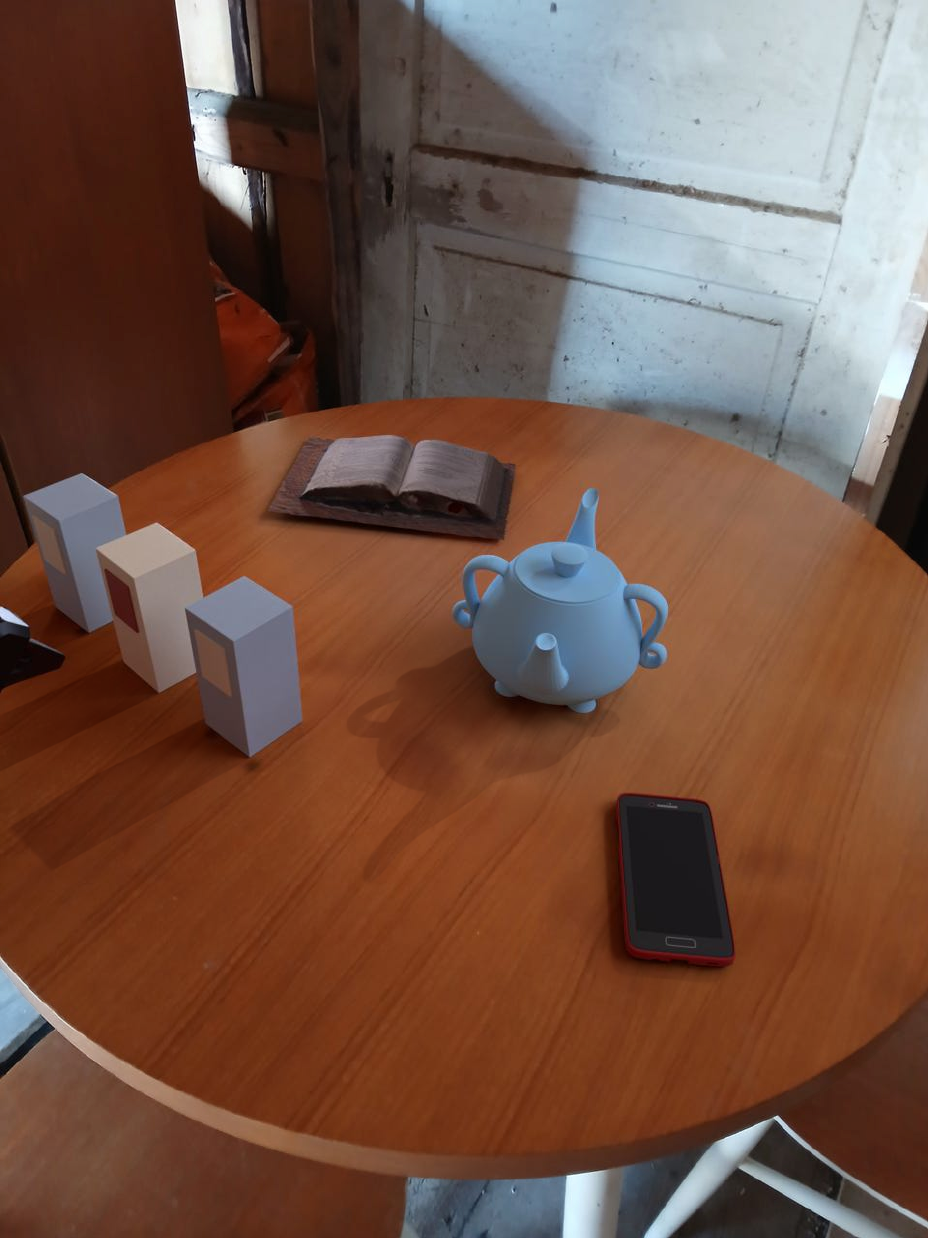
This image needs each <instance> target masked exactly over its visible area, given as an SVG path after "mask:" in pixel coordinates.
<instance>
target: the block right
mask: <svg viewBox="0 0 928 1238" xmlns="http://www.w3.org/2000/svg"><path fill="white" fill-rule="evenodd" d="M185 613H186V618H187V624H188V629H189V635H190V640H191V646H192V651H193V657H194V662H195V668H196V673H195V674H196V678H197V683H198V688H199V694H200V700H201V705H202V711H203V718H204V722H205V723H204V724H205V725H206V726H208V727H209V728H211V729H212V730H213V731H215V732H216V733H217V734H219V735H220V736H221V737H222V738H224V739H225V740H226V741H227V742H228V743H230V744H231V745H233V746H234V747H235V748H236V749H238V750H239V751H240V752H241V753H242V754H244V755H246V756H247V757H248V758H252V757H253V756H255V755H256V754H257V753H259V752H260V751H262V750H263V749H264V748H266V747H267V746H269V745H270V744H271V743H273V742H275V741H276V740H278V739H279V738H280V737H282V736H283V735H285V734H286V733H287V732H289V731H290V730H292V729H294V728H295V727H296V726H298V725H299V724H300V723H302V722H303V711H302V699H301V687H300V678H299V677H300V676H299V665H298V654H297V653H298V651H297V642H296V631H295V630H296V629H295V619H294V608H293V605H291V604H289V603H288V602H286V601H285V600H283V599H281V598H280V597H279V596H277V595H275V594H274V593H273V592H271V591H269V590H267V589H265V588H264V587H263V586H261V585H260V584H258V583H256V582H255V581H253V580H252V579H250V578H248V576H247V577H246V575H243V576H241V577H239V578H238V579H236V580H234V581H232V582H230V583H229V584H227V585H224V586H223V587H221V588H219V589H217V590H215V591H214V592H211V593H210V594H208V595H206V596H203V598H202V599H200V600H198V601H197V602H195V603H193V604H191V605H189V606H187V607H185Z"/></svg>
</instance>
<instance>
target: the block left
mask: <svg viewBox="0 0 928 1238" xmlns="http://www.w3.org/2000/svg"><path fill="white" fill-rule="evenodd" d="M22 497H23V502H24V503H25V507H26V511H27V515H28V518H29V521H30V525H31V528H32V531H33V535H34V539H35V541H36V545H37V548H38V551H39V552H38V553H39V555H40V558H41V562H42V565H43V568H44V572H45V576H46V578H47V583H48V585H49V589H50V593H51V597H52V599H53V602H54V606H55V608H56V609H58V610H59V612H62V613H63V614H64V615H65V616H66V617H68V618H69V619H70V620H72V621H73V622H74V623H76V624H77V625H78V626H79V627H81V628H82V629H83V630H85V632H87V633H89V634H90V633H93V632H94V631H96V630H98V629H100V628H103V627H104V626H105V625H106V626H107V625H108V624H110V623H111V622H113V618H112V614H111V610H110V606H109V602H108V598H107V593H106V589H105V585H104V581H103V577H102V573H101V569H100V565H99V561H98V557H97V553H96V549H95V548H97V547H99V546H102V545H104V544H107V543H109V542H111V541H114V540H116V539H118V538H121V537H123V536H126V535H127V532H126V527H125V523H124V517H123V513H122V508H121V504H120V499H119V496H118V495H117V494H116V493H114V492H112V491H110V490H109V489H107V488H106V487H104V486H103V485H102V484H100V483H99V482H97V481H95V480H93V479H92V478H90V477H89V476H87V475H86V474H84V473H81V472H80V473H79V474H76V475H73V476H71V477H68V478H65V479H63V480H60V481H58V482H55V483H53V484H50V485H48V486H45V487H43V488H40V489H37V490H35V491H33V492H30V493H27V494H25V495H23V496H22Z"/></svg>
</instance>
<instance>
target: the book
mask: <svg viewBox="0 0 928 1238" xmlns="http://www.w3.org/2000/svg"><path fill="white" fill-rule="evenodd" d="M516 466H517V464H516V463H512V462H506V463H505V462H500V461H499V460H498V459H497V458H496V457H495V456H494V455H492V454H490V453H489V452H486V451H482V450H481V451H480V450H477V449H474V448H470V447H467V446H462V445H459V444H455V443H451V442H448V441H443V440H439V439H422V440H420V441H419V442H418V443H417V444H416V445H414V443H412V442H410V441H409V440H408V439H407V438H405V437H401V436H397V435H393V434H385V435H384V434H383V435H373V436H364V437H349V438H347V437H340V438H337V439H331V438H325V439H324V438H320V437H318V438H316V437H311V436H309V437H307V439H306V441H305V443H304V445H303V446H302V448H301V450H300V451H299V453H298V455H297V457H296V459H295V460H294V462H293V464H292V466H291V467H290V470H289V471H288V472H287V475H286V476H285V478H284V480H283V481H282V483H281V486H280V487H279V489H278V490H277V491H276V494H275V496H274V497H275V498H273V499H272V501H271V502H270V504H269V506H268V509H267V511H268V512H273V513H279V514H290V515H293V516H305V517H315V518H321V519H333V520H338V521H344V522H353V523H362V524H367V525H375V526H386V527H390V528H399V529H407V530H409V529H410V530H416V531H421V532H433V533H442V534H453V535H457V536H462V537H470V538H473V537H474V538H475V537H478V538H479V537H480V538H482V539H489V540H490V539H495V540H502V541H505V535H506V528H507V527H506V526H507V524H508V523H507V522H508V516H509V513H510V510H509V509H510V504H511V500H512V499H511V498H512V492H513V488H514V480H515V474H516ZM451 504H461V505H463V506H462V508H461V509H460V510H459V512H458V513H455V512H453V511H452V512H451V511H449V506H450V505H451ZM467 509H468V510H467Z"/></svg>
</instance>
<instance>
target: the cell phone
mask: <svg viewBox="0 0 928 1238" xmlns="http://www.w3.org/2000/svg"><path fill="white" fill-rule="evenodd" d="M615 816H616V817H615V818H616V819H615V820H616V822H617V825H618V826H617V827H618V839H619V841H618V842H619V844H618V857H619V858H618V860H619V874H620V875H619V876H620V889H621V901H622V902H621V903H622V918H623V919H622V920H623V933H624V943H625V948H626V951H627V953H628V954H629V955H630V956H631V957H633V958H637V959H641V960H646V961H647V960H649V961H652V960H658V961H659V962H660V961H661V962H667V963H670V962H671V960H677V961H687V964H688V965H689V964H690V965H701V966H708V967H709V966H710V967H721V968H723V967H729V966H732V965H733V963H734V961H735V959H736V955H737V954H736V943H735V937H734V931H733V926H732V920H731V913H730V909H729V903H728V897H727V896H728V895H727V891H726V886H725V879H724V873H723V869H722V862H721V858H720V852H719V845H718V839H717V834H716V828H715V822H714V817H713V812H712V809H711V807H710V805H709V803H708V801H705V800H703V799H699V798H693V797H682V796H669V795H662V794H661V795H659V794H650V793H641V792H639V793H638V792H622V793H620V794H618V796H617V798H616V802H615Z"/></svg>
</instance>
